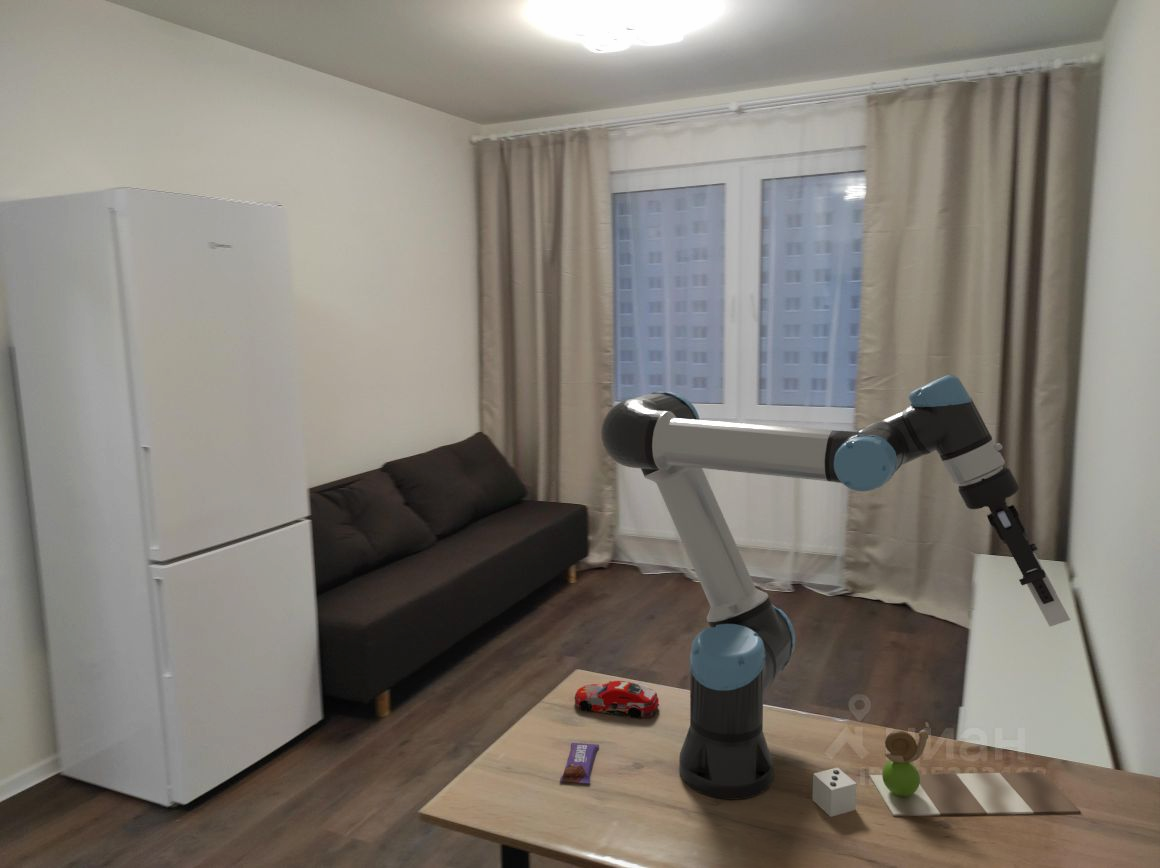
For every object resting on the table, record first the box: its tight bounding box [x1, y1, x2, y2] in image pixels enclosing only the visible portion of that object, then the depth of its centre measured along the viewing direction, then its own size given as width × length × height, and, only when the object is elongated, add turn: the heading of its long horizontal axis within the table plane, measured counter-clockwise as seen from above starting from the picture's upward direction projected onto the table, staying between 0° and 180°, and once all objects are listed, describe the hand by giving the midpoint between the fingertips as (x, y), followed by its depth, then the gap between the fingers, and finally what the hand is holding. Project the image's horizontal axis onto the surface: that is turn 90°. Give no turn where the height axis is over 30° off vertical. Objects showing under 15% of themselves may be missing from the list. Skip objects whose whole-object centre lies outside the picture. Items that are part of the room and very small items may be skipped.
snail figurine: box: [881, 722, 930, 796], centre depth 124 cm, size 5×6×12 cm
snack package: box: [559, 742, 600, 784], centre depth 135 cm, size 12×2×5 cm
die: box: [811, 767, 857, 818], centre depth 123 cm, size 4×4×5 cm
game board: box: [869, 771, 1081, 817], centre depth 125 cm, size 28×10×1 cm, turn 90°
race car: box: [574, 680, 660, 720], centre depth 153 cm, size 16×7×5 cm, turn 71°
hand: (1052, 608), depth 116 cm, fingers open, 13 cm apart
